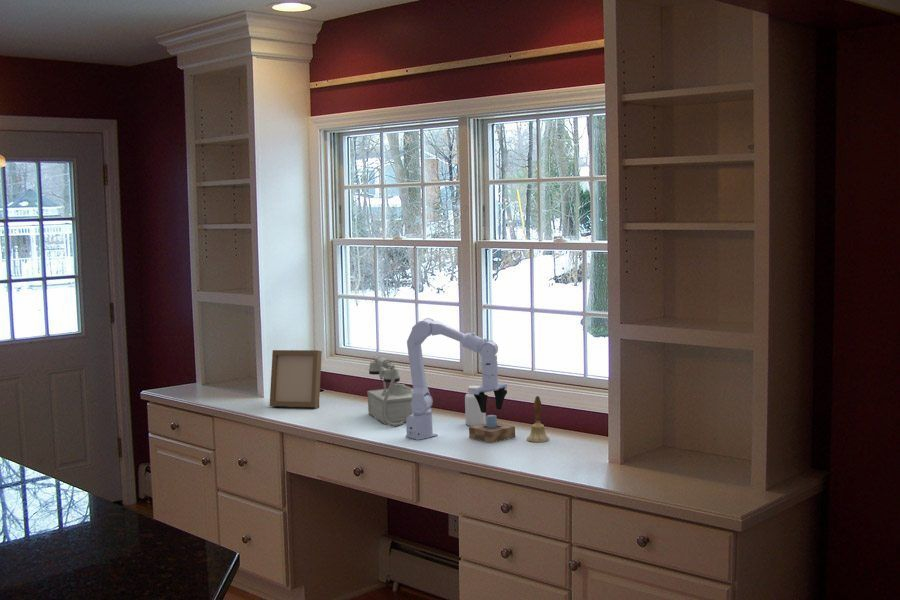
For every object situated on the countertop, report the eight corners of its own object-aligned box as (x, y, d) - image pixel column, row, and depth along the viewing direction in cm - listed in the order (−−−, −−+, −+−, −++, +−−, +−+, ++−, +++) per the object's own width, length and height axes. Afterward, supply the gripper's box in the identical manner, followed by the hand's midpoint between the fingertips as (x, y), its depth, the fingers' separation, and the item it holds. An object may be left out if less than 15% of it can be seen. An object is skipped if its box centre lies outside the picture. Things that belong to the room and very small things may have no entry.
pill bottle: (489, 425, 381) (488, 387, 380) (470, 427, 378) (469, 389, 377) (481, 421, 389) (479, 384, 387) (462, 423, 386) (461, 386, 384)
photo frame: (314, 409, 424) (312, 352, 422) (269, 408, 431) (266, 351, 429) (328, 402, 438) (326, 347, 436) (284, 402, 445) (282, 347, 443)
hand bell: (551, 437, 358) (550, 394, 356) (547, 442, 350) (546, 398, 348) (529, 436, 360) (527, 394, 358) (524, 442, 352) (523, 398, 351)
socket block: (490, 443, 353) (490, 432, 352) (469, 437, 362) (468, 427, 361) (515, 437, 360) (514, 426, 360) (493, 432, 369) (493, 421, 369)
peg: (491, 439, 358) (491, 417, 357) (484, 437, 361) (483, 416, 360) (499, 437, 361) (498, 415, 360) (492, 435, 364) (491, 414, 363)
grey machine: (432, 423, 389) (430, 360, 386) (383, 429, 382) (380, 365, 379) (407, 408, 419) (405, 350, 417) (361, 413, 412) (358, 355, 409)
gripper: (482, 378, 351) (483, 415, 353) (511, 372, 360) (513, 409, 362) (469, 376, 357) (470, 412, 358) (499, 370, 366) (500, 406, 367)
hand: (491, 410), depth 360 cm, fingers open, 7 cm apart
